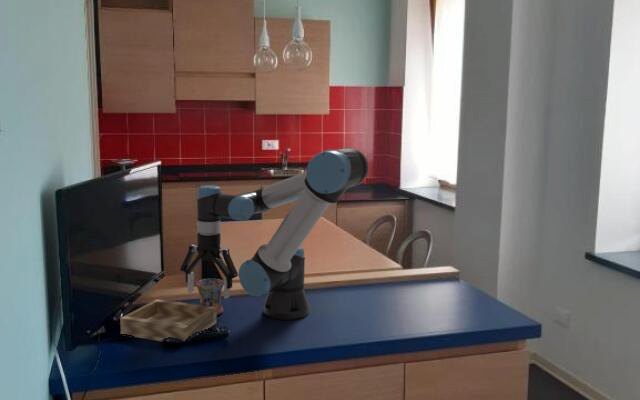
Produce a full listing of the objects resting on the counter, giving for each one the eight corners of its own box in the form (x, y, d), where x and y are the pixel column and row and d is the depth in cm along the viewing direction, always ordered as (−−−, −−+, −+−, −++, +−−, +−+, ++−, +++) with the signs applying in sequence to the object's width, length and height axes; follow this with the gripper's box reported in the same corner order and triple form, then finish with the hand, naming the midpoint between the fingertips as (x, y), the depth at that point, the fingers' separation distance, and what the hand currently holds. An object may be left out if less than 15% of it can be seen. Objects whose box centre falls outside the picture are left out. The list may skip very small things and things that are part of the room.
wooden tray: (216, 322, 193) (216, 307, 192) (185, 345, 175) (184, 327, 174) (156, 314, 199) (156, 299, 199) (120, 334, 182) (120, 318, 181)
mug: (226, 316, 198) (225, 285, 197) (197, 319, 196) (196, 287, 194) (222, 305, 210) (221, 275, 208) (194, 307, 207) (194, 277, 206)
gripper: (248, 234, 198) (247, 296, 202) (181, 226, 206) (182, 286, 209) (238, 239, 191) (237, 303, 195) (169, 231, 199) (170, 292, 202)
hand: (208, 294), depth 202 cm, fingers open, 13 cm apart
